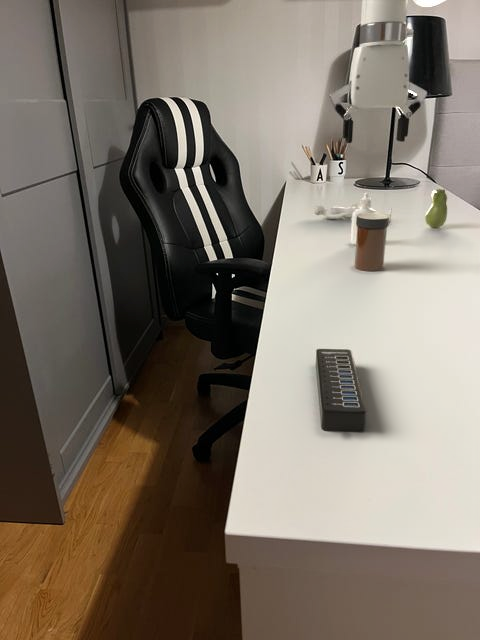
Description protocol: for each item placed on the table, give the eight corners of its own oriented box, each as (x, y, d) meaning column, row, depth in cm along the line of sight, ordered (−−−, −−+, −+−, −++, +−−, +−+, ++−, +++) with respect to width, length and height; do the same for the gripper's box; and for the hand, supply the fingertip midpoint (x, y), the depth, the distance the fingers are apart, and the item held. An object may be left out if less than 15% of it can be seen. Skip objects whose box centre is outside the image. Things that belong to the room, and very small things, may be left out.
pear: (446, 229, 132) (452, 190, 128) (425, 229, 133) (430, 190, 129) (443, 225, 137) (448, 187, 133) (422, 224, 138) (427, 187, 134)
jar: (379, 262, 105) (383, 215, 101) (386, 271, 100) (391, 221, 96) (351, 263, 105) (354, 215, 102) (357, 271, 100) (361, 222, 96)
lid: (384, 221, 102) (384, 212, 101) (392, 228, 96) (393, 218, 96) (353, 222, 102) (353, 213, 102) (359, 228, 96) (360, 219, 96)
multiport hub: (321, 430, 51) (322, 411, 50) (315, 364, 65) (316, 348, 64) (365, 432, 51) (366, 413, 50) (350, 364, 64) (351, 348, 63)
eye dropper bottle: (372, 246, 117) (377, 194, 113) (348, 244, 119) (352, 193, 115) (376, 242, 121) (380, 191, 116) (352, 240, 123) (356, 190, 118)
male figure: (390, 210, 137) (311, 208, 143) (389, 224, 138) (310, 221, 145) (392, 204, 146) (317, 201, 152) (391, 217, 147) (316, 214, 154)
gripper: (425, 38, 90) (414, 139, 97) (328, 42, 91) (325, 142, 97) (439, 33, 83) (427, 142, 90) (335, 36, 84) (331, 144, 90)
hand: (374, 141), depth 94 cm, fingers open, 9 cm apart
